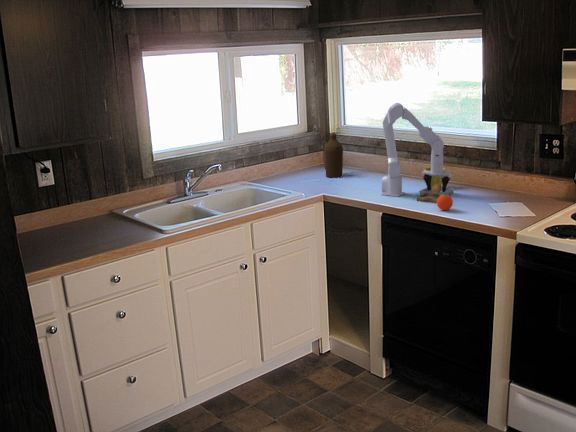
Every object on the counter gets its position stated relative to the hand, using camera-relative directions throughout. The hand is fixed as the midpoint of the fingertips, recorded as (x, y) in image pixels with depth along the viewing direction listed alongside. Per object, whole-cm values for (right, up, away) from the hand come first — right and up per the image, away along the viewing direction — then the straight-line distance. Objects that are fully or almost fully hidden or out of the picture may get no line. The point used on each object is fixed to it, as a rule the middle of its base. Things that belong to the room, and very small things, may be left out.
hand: (436, 190), depth 305 cm
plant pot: (+2, +2, +15) cm, 15 cm away
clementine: (-3, -10, -27) cm, 29 cm away
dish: (0, -2, 0) cm, 2 cm away
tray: (-4, -5, -10) cm, 12 cm away
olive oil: (-46, +10, +53) cm, 71 cm away
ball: (0, +1, 0) cm, 1 cm away
